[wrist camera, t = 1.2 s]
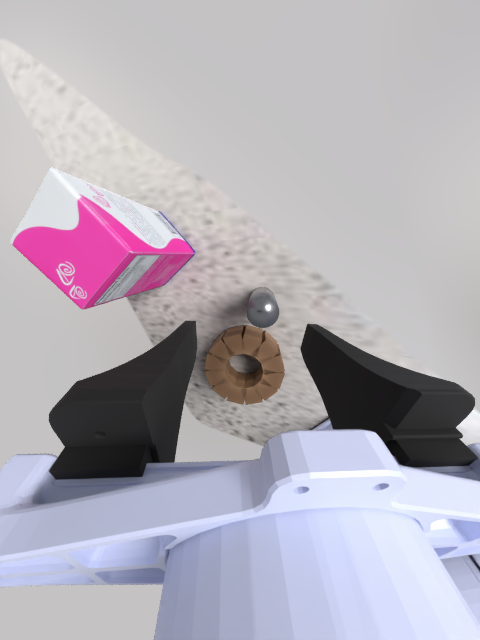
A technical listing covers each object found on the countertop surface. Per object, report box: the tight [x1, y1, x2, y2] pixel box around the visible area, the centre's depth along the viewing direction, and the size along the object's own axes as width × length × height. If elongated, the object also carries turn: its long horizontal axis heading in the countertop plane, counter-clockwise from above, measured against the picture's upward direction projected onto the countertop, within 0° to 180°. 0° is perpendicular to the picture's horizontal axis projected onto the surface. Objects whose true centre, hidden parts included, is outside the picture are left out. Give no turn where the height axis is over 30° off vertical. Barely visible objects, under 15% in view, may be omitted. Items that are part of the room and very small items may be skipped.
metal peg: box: [247, 287, 279, 328], centre depth 20 cm, size 3×3×6 cm
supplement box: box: [10, 168, 195, 309], centre depth 17 cm, size 6×6×12 cm
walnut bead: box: [204, 325, 285, 405], centre depth 24 cm, size 9×9×3 cm
